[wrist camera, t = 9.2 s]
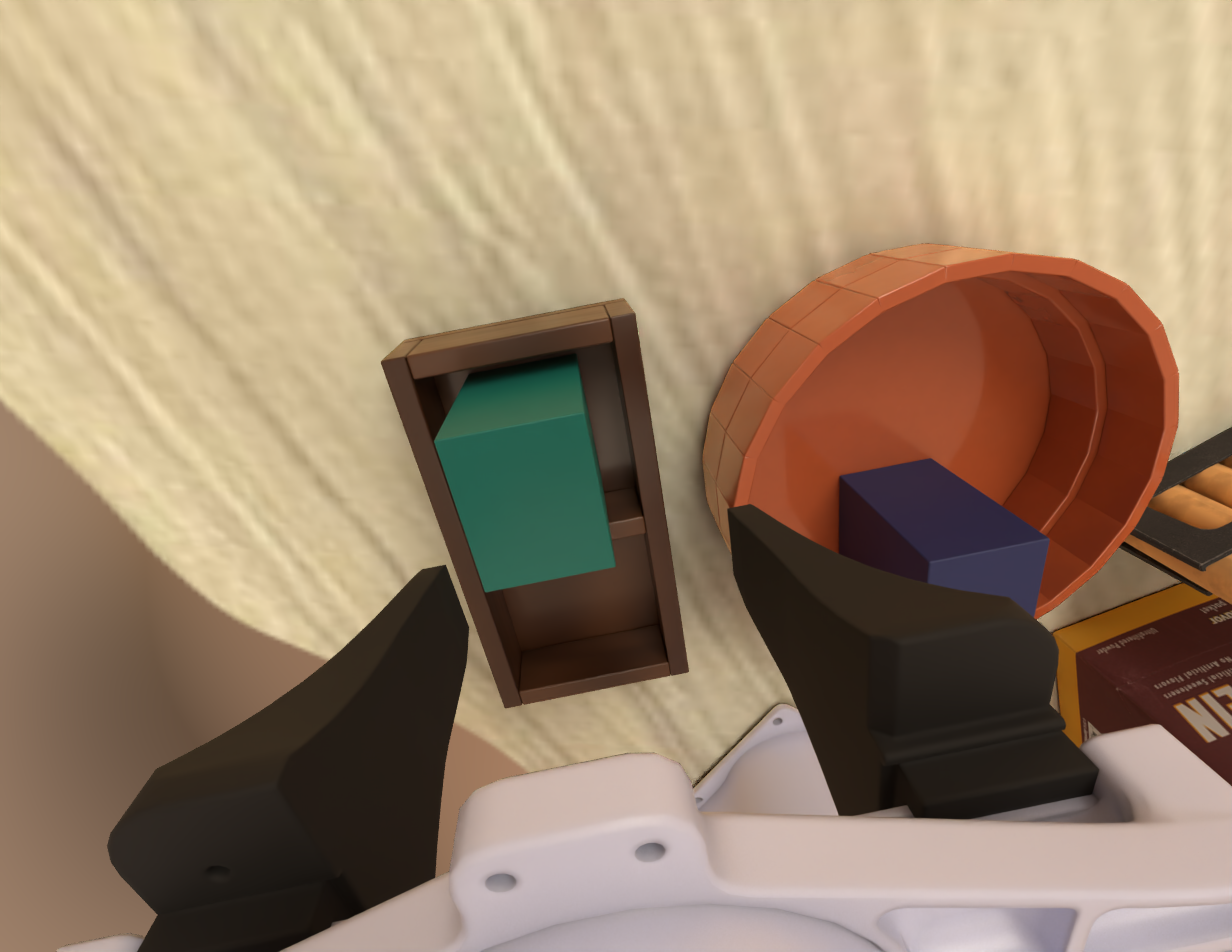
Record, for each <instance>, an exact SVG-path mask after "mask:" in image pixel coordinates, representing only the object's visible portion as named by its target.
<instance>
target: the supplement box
mask: <svg viewBox="0 0 1232 952" xmlns="http://www.w3.org/2000/svg"><path fill="white" fill-rule="evenodd" d="M1053 636H1054V637H1055V640H1056V643H1057V646H1058V649H1059V660H1058V668H1057V682H1058V692H1059V703H1060V713H1061V716H1062V717H1063V718H1064V720H1065V723H1066V728H1065V730H1062V731H1063V732H1064V733H1065V734H1066V735H1067V737H1068V738H1069V739H1070V740H1071V741H1072V742H1073V743H1074V744H1075V745H1076V746H1077V747H1078V748H1079V747H1080V745H1081V744H1082V743H1084V742H1085V741H1086V740H1088V739H1089V738H1092V737H1094V736H1097V735H1100V734H1105V733H1110V732H1115V731H1120V730H1125V729H1130V728H1135V727H1140V726H1144V725H1149V724H1159V725H1161V726H1162V727H1163V728H1165V729H1166V730H1167V731H1168V732H1169V733H1170V734H1172V735H1173V736H1174V737H1175V738H1176V739H1177V740H1178V741H1180V742H1181V743H1182V744H1183V745H1184V746H1185V747H1187V748H1188V749H1189V750H1190V751H1191V752H1192V753H1194V754H1195V755H1196V756H1197V757H1198V758H1199V759H1201V760H1202V761H1203V762H1204V763H1205V764H1206V765H1208V766H1209V767H1210V768H1211V769H1212V770H1213V771H1215V772H1216V773H1217V774H1218V775H1219V776H1220V777H1222V778H1223V779H1224V780H1225V781H1226V782H1227V783H1229V784H1230V785H1231V786H1232V604H1230V603H1228V602H1227V601H1225V600H1223V599H1222V598H1220V597H1218V596H1216V595H1215V594H1213V595H1211V596H1206V595H1204V594H1202V593H1201V592H1199V591H1197V590H1195V589H1194V588H1192V587H1190V586H1188V585H1186V584H1185V583H1182V584H1179V585H1177V586H1174V587H1171V588H1169V589H1166V590H1163V591H1161V592H1158V593H1155V594H1153V595H1150V596H1147V597H1145V598H1142V599H1139V600H1137V601H1134V602H1132V603H1129V604H1126V605H1124V606H1121V607H1118V608H1116V609H1113V610H1111V611H1108V612H1105V613H1103V614H1100V615H1097V616H1095V617H1092V618H1090V619H1087V620H1084V621H1082V622H1079V623H1076V624H1074V625H1071V626H1068V627H1066V628H1063V629H1060V630H1058V631H1055V632H1054V633H1053Z"/></svg>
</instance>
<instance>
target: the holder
mask: <svg viewBox="0 0 1232 952" xmlns="http://www.w3.org/2000/svg"><path fill="white" fill-rule="evenodd" d="M570 354H577V358H578V363H579V368H580V373H581V378H582V383H583V388H584V393H585V398H586V402H587V407H588V412H589V417H590V422H591V427H592V432H593V437H594V442H595V447H596V452H597V457H598V462H599V467H600V472H601V478H602V484H603V490H604V496H605V502H606V508H607V514H608V520H609V526H610V532H611V538H612V544H613V550H614V556H615V562H616V567H613V568H608V569H603V570H598V571H593V572H588V573H583V574H578V575H573V576H567V577H562V578H557V579H552V580H547V581H542V582H537V583H532V584H527V585H522V586H517V587H511V588H506V589H501V590H496V591H491V592H485V591H484V588H483V585H482V582H481V579H480V576H479V574H478V571H477V568H476V565H475V562H474V559H473V556H472V553H471V550H470V547H469V544H468V541H467V538H466V535H465V532H464V529H463V526H462V523H461V520H460V517H459V514H458V511H457V508H456V505H455V502H454V500H453V497H452V494H451V491H450V488H449V485H448V482H447V479H446V476H445V473H444V470H443V467H442V464H441V461H440V458H439V455H438V452H437V449H436V446H435V443H434V440H435V438H436V436H437V434H438V432H439V430H440V428H441V426H442V425H443V423H444V421H445V419H446V417H447V415H448V413H449V411H450V409H451V407H452V405H453V403H454V401H455V399H456V397H457V395H458V394H459V392H460V390H461V388H462V386H463V384H464V382H465V380H466V378H467V376H468V374H471V373H476V372H481V371H487V370H492V369H497V368H502V367H507V366H513V365H518V364H523V363H528V362H533V361H539V360H544V359H549V358H554V357H560V356H565V355H570ZM381 365H382V367H383V370H384V373H385V376H386V379H387V381H388V384H389V387H390V390H391V392H392V395H393V398H394V401H395V404H396V406H397V409H398V412H399V415H400V418H401V420H402V423H403V426H404V429H405V431H406V434H407V437H408V440H409V443H410V445H411V448H412V451H413V454H414V457H415V459H416V462H417V465H418V468H419V470H420V473H421V476H422V479H423V482H424V484H425V487H426V490H427V493H428V496H429V498H430V501H431V504H432V507H433V509H434V512H435V515H436V518H437V521H438V523H439V526H440V529H441V532H442V535H443V537H444V540H445V543H446V546H447V548H448V551H449V554H450V557H451V560H452V562H453V565H454V568H455V571H456V574H457V576H458V579H459V582H460V585H461V587H462V590H463V593H464V596H465V599H466V601H467V604H468V607H469V610H470V613H471V615H472V618H473V621H474V624H475V626H476V629H477V632H478V635H479V638H480V640H481V643H482V646H483V649H484V652H485V654H486V657H487V660H488V663H489V665H490V668H491V671H492V674H493V677H494V679H495V682H496V685H497V688H498V691H499V693H500V696H501V699H502V702H503V704H504V707H505V708H510V707H515V706H520V705H522V703H523V704H524V705H525V704H530V703H535V702H540V701H545V700H550V699H555V698H560V697H565V696H570V695H575V694H580V693H585V692H590V691H595V690H600V689H605V688H610V687H615V686H620V685H625V684H631V683H636V682H641V681H646V680H651V679H656V678H661V677H666V676H670V674H671V675H677V674H682V673H688V672H689V668H688V661H687V655H686V648H685V641H684V635H683V628H682V621H681V615H680V608H679V601H678V595H677V588H676V581H675V575H674V568H673V561H672V555H671V548H670V541H669V535H668V528H667V521H666V515H665V508H664V501H663V495H662V488H661V481H660V475H659V468H658V461H657V455H656V448H655V441H654V435H653V428H652V421H651V415H650V408H649V401H648V395H647V388H646V381H645V375H644V368H643V361H642V355H641V348H640V341H639V335H638V328H637V321H636V315H635V312H634V311H633V310H632V308H631V307H630V305H629V304H628V303H627V301H626V300H625V299H623V298H622V299H617V300H611V301H606V302H601V303H596V304H591V305H585V306H580V307H575V308H570V309H564V310H559V311H554V312H549V313H543V314H538V315H533V316H528V317H522V318H517V319H512V320H507V321H501V322H496V323H491V324H486V325H480V326H475V327H470V328H465V329H459V330H454V331H449V332H444V333H438V334H433V335H428V336H423V337H417V338H412V339H407V340H404V341H403V342H402V343H401V344H400V345H399V346H397V347H396V348H395V349H394V350H393V351H392V352H391V353H390V354H389V355H387V356H386V357H385V358H384V359H383V360H382V361H381Z"/></svg>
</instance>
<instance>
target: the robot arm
mask: <svg viewBox="0 0 1232 952" xmlns="http://www.w3.org/2000/svg"><path fill="white" fill-rule="evenodd" d="M727 513H728V523H729V533H730V543H731V553H732V562H733V572H734V577H735V580H736V582H737V585H738V588H739V590H740V593H741V596H742V598H743V601H744V603H745V606H746V608H747V610H748V612H749V614H750V616H751V618H752V620H753V622H754V623H755V625H756V627H757V629H758V631H759V633H760V635H761V637H762V638H763V640H764V642H765V644H766V646H767V648H768V649H769V651H770V653H771V655H772V657H773V659H774V661H775V662H776V664H777V666H778V668H779V670H780V672H781V673H782V675H783V677H784V679H785V681H786V683H787V685H788V688H789V690H790V692H791V694H792V696H793V699H794V701H795V704H796V706H797V709H796V708H794V707H792V706H790V705H788V704H778V705H777V706H775V707H774V708H773V709H772V710H771V711H770V712H769V713H768V714H767V715H766V716H765V717H764V718H763V719H762V720H761V721H760V722H759V723H758V724H757V725H756V726H755V727H754V728H753V729H752V730H751V731H750V732H749V733H748V734H747V735H746V736H745V737H744V738H743V739H742V740H741V741H740V742H739V743H738V744H737V745H736V746H735V747H734V748H733V749H732V750H731V751H730V752H729V753H728V754H727V755H726V756H725V757H724V758H723V759H722V760H721V761H720V762H719V763H718V764H717V765H716V766H715V767H714V768H713V769H712V770H711V771H710V772H709V773H708V774H707V775H706V776H705V777H704V778H703V779H702V780H701V781H700V782H699V783H698V784H697V785H696V786H695V787H694V788H693V787H692V783H691V780H690V778H689V777H688V775H687V774H686V772H685V770H684V769H683V767H682V766H681V764H680V763H678V762H675V761H673V760H670V759H668V758H666V757H663V756H661V755H659V754H656V753H625V754H620V755H615V756H610V757H606V758H601V759H596V760H591V761H586V762H581V763H576V764H571V765H566V766H561V767H556V768H551V769H546V770H541V771H536V772H531V773H527V774H522V775H517V776H512V777H507V778H503V779H500V780H498V781H495V782H493V783H490V784H488V785H486V786H483V787H480V788H478V789H477V790H475V791H474V792H473V793H472V794H471V795H470V797H469V798H468V799H467V800H466V801H465V803H464V804H463V805H462V806H461V807H460V809H459V815H458V822H457V828H456V834H455V840H454V846H453V852H452V858H451V864H450V871H449V872H447V873H445V874H443V875H440V876H438V877H436V878H435V871H436V855H437V841H438V830H439V819H440V807H441V797H442V788H443V779H444V770H445V762H446V756H447V751H448V745H449V740H450V736H451V731H452V727H453V723H454V718H455V714H456V709H457V705H458V700H459V696H460V692H461V687H462V682H463V678H464V673H465V668H466V663H467V652H468V637H469V626H468V624H467V621H466V618H465V615H464V613H463V610H462V607H461V605H460V602H459V599H458V597H457V594H456V591H455V588H454V586H453V583H452V580H451V578H450V575H449V572H448V570H447V567H446V565H442V566H437V567H432V568H427V569H422V570H421V571H420V572H419V573H417V574H416V575H415V576H414V577H413V578H412V579H411V580H410V581H409V582H408V583H407V585H406V586H405V587H404V588H403V589H402V590H401V591H400V592H399V593H398V594H397V595H396V596H395V597H394V598H393V599H392V600H391V601H390V602H389V604H388V605H387V606H386V607H385V608H384V609H383V610H382V611H381V612H380V613H379V614H378V615H377V616H376V617H375V618H374V619H373V620H372V621H371V622H370V623H369V624H368V625H367V626H366V627H365V628H364V629H363V630H362V631H361V632H360V633H359V634H358V635H357V636H356V637H355V638H353V639H352V640H351V641H350V642H349V643H348V644H347V645H346V646H345V647H344V648H343V649H342V650H341V651H340V652H338V653H337V654H336V655H335V656H334V657H333V658H331V659H330V660H329V661H328V662H327V663H326V664H324V665H323V666H322V667H321V668H319V669H318V670H317V671H316V672H314V673H313V674H312V675H311V676H309V677H308V678H307V679H306V680H304V681H303V682H301V683H300V684H299V685H297V686H296V687H294V688H293V689H291V690H290V691H289V692H287V693H286V694H284V695H283V696H282V697H280V698H279V699H277V700H276V701H275V702H273V703H272V704H270V705H269V706H267V707H266V708H264V709H263V710H261V711H260V712H258V713H256V714H255V715H253V716H252V717H250V718H249V719H247V720H245V721H244V722H242V723H240V724H239V725H237V726H235V727H234V728H232V729H230V730H229V731H227V732H225V733H224V734H222V735H220V736H218V737H217V738H215V739H213V740H211V741H209V742H208V743H206V744H204V745H202V746H200V747H198V748H196V749H194V750H192V751H191V752H188V753H187V754H185V755H183V756H181V757H179V758H177V759H175V760H173V761H171V762H169V763H167V764H165V765H163V766H161V767H159V768H157V769H156V770H155V771H154V773H153V774H152V776H151V777H150V779H149V780H148V781H147V783H146V784H145V786H144V787H143V788H142V790H141V791H140V793H139V794H138V795H137V797H136V798H135V800H134V801H133V802H132V804H131V805H130V807H129V808H128V809H127V811H126V812H125V814H124V815H123V816H122V818H121V819H120V821H119V822H118V824H117V825H116V826H115V828H114V829H113V831H112V832H111V834H110V837H109V841H108V845H107V847H108V852H109V856H110V860H111V863H112V864H113V866H114V867H115V869H116V870H117V871H118V873H119V874H120V876H121V877H122V878H123V879H124V880H125V881H126V882H127V883H128V884H129V885H130V886H131V887H132V888H133V889H134V890H135V891H136V893H137V894H138V895H139V896H140V897H141V898H142V899H143V900H144V901H145V902H146V903H147V904H148V905H149V906H150V907H151V908H152V909H153V910H154V911H155V912H156V914H158V916H157V917H156V919H155V921H154V923H153V925H152V926H151V928H150V930H149V931H148V933H147V935H146V937H143V936H140V935H136V934H118V935H113V936H108V937H103V938H99V939H94V940H89V941H84V942H79V943H74V944H69V945H65V946H63V947H61V948H59V949H57V951H56V952H1232V786H1231V785H1230V784H1229V783H1227V782H1226V781H1225V780H1224V779H1223V778H1222V777H1220V776H1219V775H1218V774H1217V773H1216V772H1215V771H1213V770H1212V769H1211V768H1210V767H1209V766H1208V765H1206V764H1205V763H1204V762H1203V761H1202V760H1201V759H1199V758H1198V757H1197V756H1196V755H1195V754H1194V753H1192V752H1191V751H1190V750H1189V749H1188V748H1187V747H1185V746H1184V745H1183V744H1182V743H1181V742H1180V741H1178V740H1177V739H1176V738H1175V737H1174V736H1173V735H1172V734H1170V733H1169V732H1168V731H1167V730H1166V729H1165V728H1163V727H1162V726H1161V725H1159V724H1149V725H1144V726H1140V727H1135V728H1130V729H1125V730H1120V731H1115V732H1110V733H1105V734H1100V735H1097V736H1094V737H1092V738H1089V739H1088V740H1086V741H1085V742H1084V743H1082V744H1081V745H1080V747H1079V748H1078V747H1077V746H1076V745H1075V744H1074V743H1073V742H1072V741H1071V740H1070V739H1069V738H1068V737H1067V735H1066V734H1065V733H1064V732H1063V731H1062V730H1065V728H1066V723H1065V720H1064V718H1063V717H1062V716H1061V715H1060V714H1059V713H1058V712H1057V711H1056V710H1055V709H1054V708H1053V707H1052V706H1051V705H1050V699H1051V695H1052V690H1053V686H1054V681H1055V677H1056V673H1057V668H1058V660H1059V649H1058V646H1057V643H1056V640H1055V637H1054V636H1053V635H1052V634H1051V633H1050V632H1049V631H1048V630H1047V629H1046V628H1045V627H1044V626H1043V625H1042V624H1041V623H1039V622H1038V621H1037V620H1036V619H1035V618H1034V617H1033V616H1031V615H1030V614H1029V613H1028V612H1027V611H1026V610H1024V609H1023V608H1022V607H1021V606H1020V605H1018V604H1017V603H1016V602H1015V601H1013V600H1012V599H1011V598H1009V597H1006V596H999V595H992V594H985V593H977V592H970V591H963V590H957V589H952V588H947V587H943V586H938V585H933V584H928V583H924V582H920V581H916V580H912V579H909V578H905V577H902V576H898V575H895V574H892V573H888V572H885V571H882V570H879V569H876V568H873V567H870V566H868V565H865V564H863V563H860V562H858V561H855V560H852V559H850V558H847V557H845V556H843V555H841V554H838V553H836V552H834V551H832V550H830V549H828V548H826V547H824V546H822V545H820V544H818V543H816V542H814V541H812V540H810V539H808V538H806V537H805V536H803V535H801V534H799V533H798V532H796V531H794V530H792V529H791V528H789V527H787V526H786V525H784V524H782V523H781V522H779V521H778V520H776V519H774V518H773V517H771V516H770V515H768V514H766V513H765V512H763V511H762V510H760V509H759V508H757V507H755V506H754V505H752V504H748V505H743V506H738V507H733V508H728V509H727Z"/></svg>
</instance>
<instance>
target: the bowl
mask: <svg viewBox="0 0 1232 952" xmlns="http://www.w3.org/2000/svg"><path fill="white" fill-rule="evenodd" d="M1178 415H1179V373H1178V368H1177V365H1176V362H1175V359H1174V356H1173V353H1172V350H1171V347H1170V344H1169V341H1168V338H1167V335H1166V333H1165V330H1164V327H1163V325H1162V322H1161V321H1160V320H1159V319H1158V318H1157V317H1156V316H1155V315H1154V313H1153V312H1152V311H1151V310H1150V309H1149V308H1148V307H1147V305H1146V304H1145V303H1144V302H1143V301H1142V300H1141V299H1140V297H1139V296H1138V295H1137V294H1136V293H1135V292H1134V291H1133V289H1132V288H1131V287H1130V286H1129V285H1127V284H1126V283H1125V282H1123V281H1121V280H1119V279H1117V278H1114V277H1112V276H1110V275H1108V274H1106V273H1104V272H1102V271H1100V270H1098V269H1096V268H1094V267H1092V266H1090V265H1088V264H1086V263H1084V262H1082V261H1080V260H1076V259H1072V258H1062V257H1053V256H1043V255H1034V254H1024V253H1015V252H1006V251H996V250H987V249H977V248H968V247H958V246H948V245H939V244H929V243H926V244H923V243H922V244H917V245H911V246H906V247H901V248H896V249H890V250H885V251H880V252H875V253H870V254H869V255H865V256H863V257H861V258H859V259H857V260H854V261H852V262H850V263H848V264H846V265H844V266H842V267H840V268H838V269H836V270H833V271H831V272H829V273H827V274H825V275H823V276H821V277H819V278H817V279H816V280H814V281H812V282H811V283H810V284H808V285H807V286H806V287H805V288H803V289H802V290H801V291H800V292H798V293H797V294H796V295H795V296H793V297H792V298H791V299H790V300H788V301H787V302H786V303H785V304H784V305H782V306H781V307H780V308H779V309H777V310H776V311H775V312H774V313H772V314H771V315H770V316H769V318H767V319H766V320H765V321H764V323H763V324H762V325H761V327H760V328H759V329H758V330H757V332H756V333H755V334H754V335H753V337H752V338H751V339H750V341H749V342H748V343H747V344H746V346H745V347H744V348H743V350H742V351H741V352H740V353H739V355H738V356H737V357H736V359H735V360H734V361H733V363H732V364H731V367H730V369H729V371H728V373H727V375H726V378H725V380H724V382H723V384H722V386H721V389H720V391H719V393H718V395H717V397H716V400H715V402H714V404H713V406H712V408H711V412H710V416H709V422H708V427H707V433H706V439H705V445H704V451H703V456H702V458H703V460H702V463H703V471H704V480H705V489H706V498H707V502H708V506H709V508H710V510H711V513H712V515H713V517H714V519H715V522H716V524H717V526H718V528H719V531H720V533H721V535H722V537H723V539H724V541H725V543H726V545H727V547H728V549H729V551H730V553H731V543H730V533H729V523H728V513H727V509H728V508H733V507H738V506H743V505H748V504H752V505H754V506H755V507H757V508H759V509H760V510H762V511H763V512H765V513H766V514H768V515H770V516H771V517H773V518H774V519H776V520H778V521H779V522H781V523H782V524H784V525H786V526H787V527H789V528H791V529H792V530H794V531H796V532H798V533H799V534H801V535H803V536H805V537H806V538H808V539H810V540H812V541H814V542H816V543H818V544H820V545H822V546H824V547H826V548H828V549H830V550H832V551H834V552H836V553H838V554H839V477H840V476H841V475H846V474H851V473H856V472H862V471H867V470H872V469H877V468H882V467H887V466H892V465H897V464H903V463H908V462H913V461H918V460H923V459H928V458H932V459H933V460H935V461H936V462H938V463H939V464H941V465H942V466H944V467H945V468H946V469H948V470H949V471H951V472H952V473H954V474H955V475H957V476H958V477H960V478H961V479H963V480H964V481H966V482H967V483H969V484H970V485H972V486H973V487H975V488H976V489H977V490H979V491H980V492H982V493H983V494H985V495H986V496H988V497H989V498H991V499H992V500H994V501H995V502H997V503H998V504H1000V505H1001V506H1003V507H1004V508H1005V509H1007V510H1008V511H1010V512H1011V513H1013V514H1014V515H1016V516H1017V517H1019V518H1020V519H1022V520H1023V521H1025V522H1026V523H1028V524H1029V525H1031V526H1032V527H1033V528H1035V529H1036V530H1038V531H1039V532H1041V533H1042V534H1044V535H1045V536H1047V537H1048V538H1049V539H1050V542H1049V547H1048V552H1047V556H1046V561H1045V566H1044V571H1043V576H1042V581H1041V586H1040V591H1039V596H1038V601H1037V606H1036V611H1035V615H1034V618H1035V619H1038V618H1039V617H1041V616H1043V615H1044V614H1046V613H1048V612H1049V611H1051V610H1053V609H1054V608H1055V607H1057V606H1058V605H1059V604H1061V603H1062V602H1063V601H1064V600H1065V599H1067V598H1068V597H1069V596H1070V595H1071V594H1072V593H1074V592H1075V591H1076V590H1077V589H1078V588H1079V587H1081V586H1082V585H1083V584H1084V583H1085V582H1087V581H1088V580H1089V579H1090V578H1091V577H1092V576H1094V575H1095V574H1096V573H1097V572H1098V570H1100V569H1101V568H1102V567H1103V566H1104V564H1105V563H1106V562H1107V561H1108V560H1109V558H1110V557H1111V556H1112V555H1113V554H1114V552H1115V551H1116V550H1117V549H1118V548H1119V546H1120V545H1121V544H1122V543H1123V542H1124V540H1125V539H1126V538H1127V537H1128V536H1129V534H1130V533H1131V532H1132V531H1133V530H1134V528H1135V527H1136V526H1137V524H1138V522H1139V520H1140V518H1141V517H1142V515H1143V513H1144V511H1145V509H1146V508H1147V506H1148V504H1149V502H1150V500H1151V499H1152V497H1153V495H1154V493H1155V491H1156V490H1157V488H1158V486H1159V484H1160V482H1161V481H1162V477H1163V476H1164V473H1165V469H1166V466H1167V462H1168V459H1169V455H1170V452H1171V449H1172V445H1173V442H1174V438H1175V435H1176V431H1177V428H1178ZM731 555H732V553H731Z"/></svg>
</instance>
